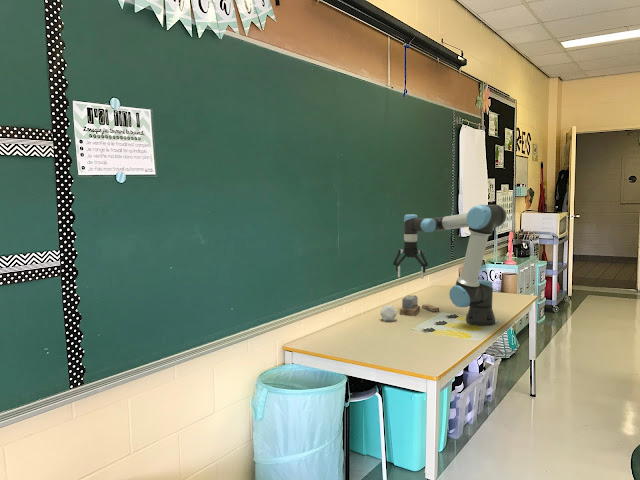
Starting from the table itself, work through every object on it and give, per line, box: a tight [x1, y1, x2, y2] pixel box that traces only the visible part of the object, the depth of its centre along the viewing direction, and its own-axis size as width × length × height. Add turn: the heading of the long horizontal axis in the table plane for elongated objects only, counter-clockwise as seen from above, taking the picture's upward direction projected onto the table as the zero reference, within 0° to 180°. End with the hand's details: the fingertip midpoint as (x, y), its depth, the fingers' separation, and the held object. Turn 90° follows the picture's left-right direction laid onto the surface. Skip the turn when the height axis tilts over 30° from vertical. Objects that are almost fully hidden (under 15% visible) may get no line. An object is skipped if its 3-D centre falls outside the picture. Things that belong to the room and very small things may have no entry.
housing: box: [401, 294, 419, 309], centre depth 292 cm, size 6×10×6 cm, turn 152°
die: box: [380, 304, 398, 322], centre depth 276 cm, size 8×9×10 cm
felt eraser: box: [421, 303, 440, 313], centre depth 299 cm, size 12×4×3 cm, turn 22°
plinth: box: [399, 305, 421, 317], centre depth 293 cm, size 9×13×3 cm
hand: (410, 277), depth 291 cm, fingers open, 13 cm apart
